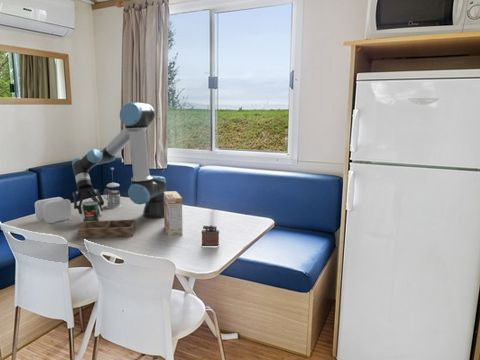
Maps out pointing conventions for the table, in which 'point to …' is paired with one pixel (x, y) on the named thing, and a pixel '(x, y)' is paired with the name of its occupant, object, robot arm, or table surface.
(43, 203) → the cable organizer
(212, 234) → the lighter
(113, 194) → the french press
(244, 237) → the table surface
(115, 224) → the slot caddy
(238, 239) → the table surface
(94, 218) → the canned tomato
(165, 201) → the coffeecake box
